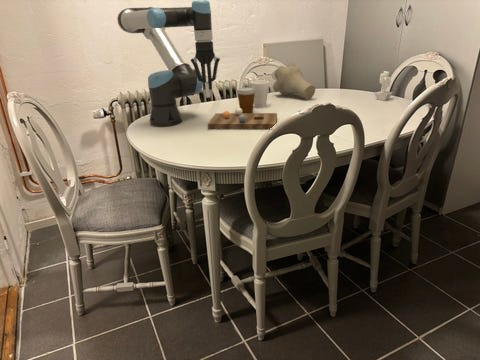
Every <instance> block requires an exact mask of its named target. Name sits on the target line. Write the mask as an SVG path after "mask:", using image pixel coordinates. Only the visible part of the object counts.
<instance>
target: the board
mask: <svg viewBox="0 0 480 360" xmlns="http://www.w3.org/2000/svg"><path fill="white" fill-rule="evenodd" d="M229 113H230V117H229V118H224V117H223V112H220V113H218V112H217V113H214V115H212V117H211V118H210V120H209V121H208V123H207V128H208V129H207V130H271V129H270V128H272V127H273V126H274V125H275V124H276V125H277V121H278V113H277V112H263V113H262V112H253V113H242V114H243V115H245V117H246V120H245V121H244V122H240V121H239V120H238V117H239V115H237V114H236V113H235V112H233V113H232V112H229Z"/></svg>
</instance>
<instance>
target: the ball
mask: <svg viewBox="0 0 480 360" xmlns="http://www.w3.org/2000/svg"><path fill="white" fill-rule="evenodd" d="M222 113H223V117H224V118H229V117H230V113H231V112H230V111H228V110H225V111H223V112H222Z"/></svg>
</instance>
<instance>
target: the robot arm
mask: <svg viewBox="0 0 480 360" xmlns="http://www.w3.org/2000/svg"><path fill="white" fill-rule="evenodd" d="M116 19H117V24H118V26H119V28H120V29H121V30H122V31H124V32H125V33H129V34H143V36H144V37H145V38H146V40H149V41H150V42H151V43H152V45H153V47H154V48H155V50H156V51H157V53H158V55H159V56H160V58H161V60H162V61H163V63H164V65H165V66H166V68H167V69H165V70H159V71H155V72H153V73H150V75H148V77H147V87H148V92H149V98H150V105H151V109H150V110H151V111H150V115H149V116H150V117H149V123H150V126H152V127H157V128H158V127H162V128H163V127H172V126H176V125H179V124H181V123H182V122H183V118H182V114H181V112H180V110H179V108H178V105H177V99H181V98H185V97H190V96H192V97H193V96H194V95H198V94H200V93H201V91H202V90H204V91H205V98H211V91H212V90H213V82H215V80H216V78H217V73H218V66H219V62H220V61H221V57H218V56H216V54H215V52H214V42H213V38H214V37H213V28H212V10H211V3H210V1H209V0H193V1H192V2H191V6H185V7H184V6H183V7H181V6H179V7H154V6H148V7H127V8H124V9H122V10H121V11H119V13H118V15H117V18H116ZM181 27H182V28H183V27H193V30H194V31H193V33H194V40H195V43H194V44H195V54H194V55H195V56H193V58H191V59H190V62H191V63H192V65H193V68H194V69H193V68H192V67H191V65H190V63H187V62H185V61H184V59H183V58H182V56H181V55H180V53H179V51H178V50H177V48H176V47H175V45H174V43H173V42H172V40H171V38H170V37H169V35H168V34H167V32H166V28H167V29H169V28H181ZM213 60H214V63H213V71H212V66H211V65H212V62H213ZM198 62H199V63H200V68H199V64H198ZM206 72H207V73H206Z"/></svg>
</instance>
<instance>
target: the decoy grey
mask: <svg viewBox="0 0 480 360" xmlns="http://www.w3.org/2000/svg"><path fill="white" fill-rule="evenodd" d="M238 120H239V121H240V122H244V121H245V120H246V117H245V115H243V114H241V115H239V117H238Z"/></svg>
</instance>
